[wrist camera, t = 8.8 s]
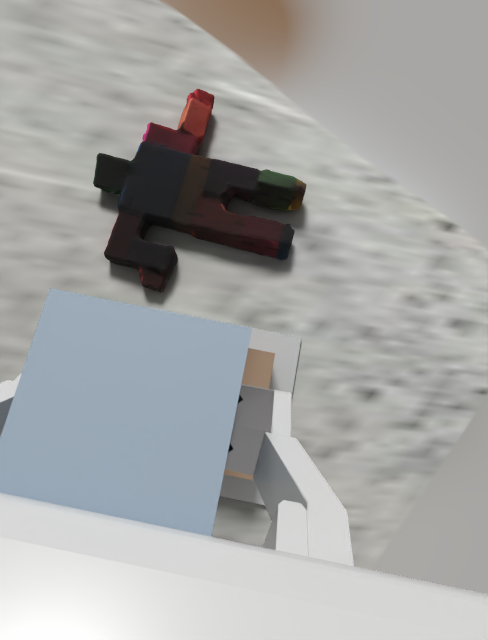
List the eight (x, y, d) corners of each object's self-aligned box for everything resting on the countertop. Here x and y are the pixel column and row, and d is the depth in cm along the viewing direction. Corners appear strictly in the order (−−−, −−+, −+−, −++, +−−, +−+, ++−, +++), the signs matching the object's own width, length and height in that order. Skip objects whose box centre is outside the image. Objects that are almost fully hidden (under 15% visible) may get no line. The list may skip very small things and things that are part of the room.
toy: (201, 100, 32) (198, 71, 29) (329, 223, 30) (339, 205, 27) (61, 205, 30) (43, 185, 27) (190, 347, 28) (185, 341, 25)
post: (129, 444, 15) (-24, 508, 6) (153, 350, 16) (49, 288, 7) (224, 464, 15) (207, 557, 6) (242, 368, 16) (252, 328, 7)
